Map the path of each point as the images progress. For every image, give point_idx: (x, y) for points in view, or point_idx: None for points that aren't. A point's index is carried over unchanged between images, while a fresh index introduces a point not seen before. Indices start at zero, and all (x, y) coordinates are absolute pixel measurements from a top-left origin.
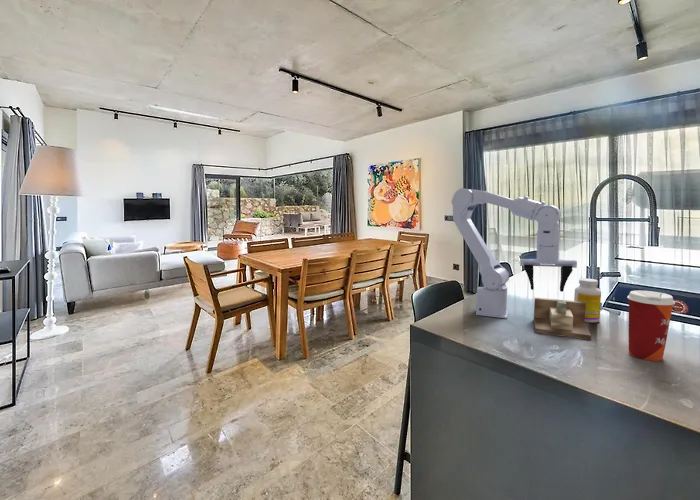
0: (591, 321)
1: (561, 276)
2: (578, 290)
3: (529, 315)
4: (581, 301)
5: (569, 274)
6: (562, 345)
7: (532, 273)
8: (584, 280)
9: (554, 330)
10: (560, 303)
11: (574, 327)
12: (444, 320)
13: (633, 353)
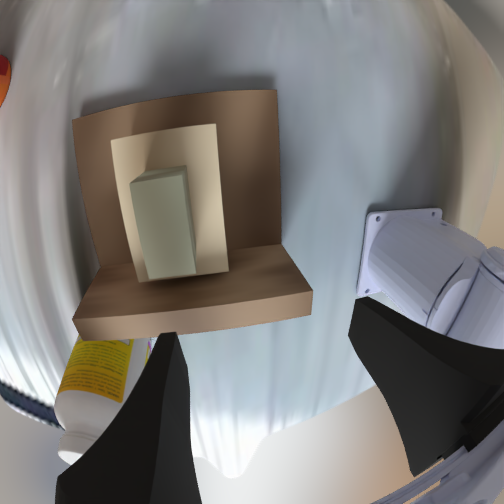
0: None
1: (180, 453)
2: None
3: None
4: (110, 369)
5: (84, 456)
6: (178, 6)
7: (457, 365)
8: None
9: (200, 95)
10: (167, 176)
11: None
12: (485, 130)
13: (4, 59)
